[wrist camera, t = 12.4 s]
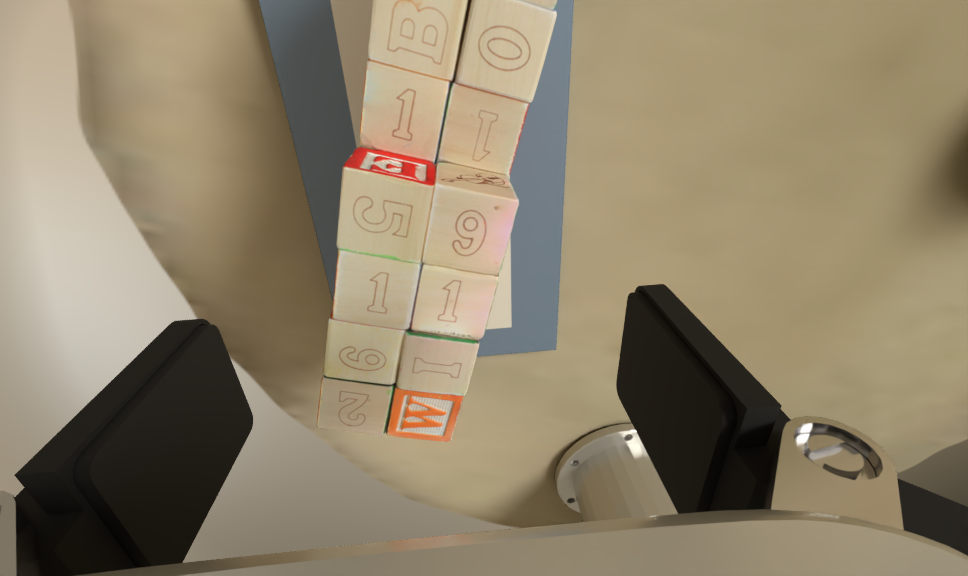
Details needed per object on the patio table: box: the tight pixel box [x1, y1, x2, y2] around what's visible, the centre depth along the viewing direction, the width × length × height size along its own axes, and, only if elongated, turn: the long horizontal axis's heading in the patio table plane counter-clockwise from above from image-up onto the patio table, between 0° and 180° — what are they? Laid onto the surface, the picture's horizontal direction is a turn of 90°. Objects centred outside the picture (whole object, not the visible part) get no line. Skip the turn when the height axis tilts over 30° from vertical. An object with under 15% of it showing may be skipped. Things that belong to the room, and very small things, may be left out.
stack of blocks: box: [317, 0, 558, 442], centre depth 20 cm, size 21×6×12 cm, turn 166°
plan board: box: [259, 0, 574, 357], centre depth 27 cm, size 30×16×1 cm, turn 2°
